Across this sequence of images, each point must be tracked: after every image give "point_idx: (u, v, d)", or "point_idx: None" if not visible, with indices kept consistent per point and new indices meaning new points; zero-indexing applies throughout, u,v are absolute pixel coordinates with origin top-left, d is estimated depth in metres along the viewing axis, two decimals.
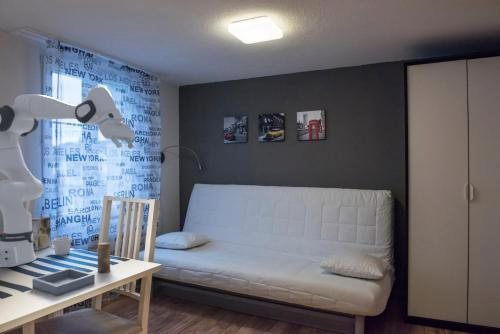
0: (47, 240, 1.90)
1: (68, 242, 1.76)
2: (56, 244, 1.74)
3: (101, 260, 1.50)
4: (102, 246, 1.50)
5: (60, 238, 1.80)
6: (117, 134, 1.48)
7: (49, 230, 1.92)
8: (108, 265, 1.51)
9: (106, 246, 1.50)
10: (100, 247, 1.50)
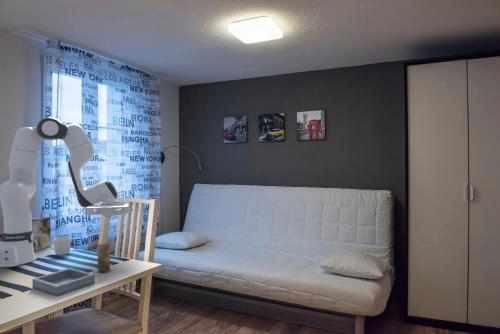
0: (47, 240, 1.90)
1: (68, 242, 1.76)
2: (56, 244, 1.74)
3: (101, 260, 1.50)
4: (102, 246, 1.50)
5: (60, 238, 1.80)
6: (118, 213, 1.70)
7: (49, 230, 1.92)
8: (108, 265, 1.51)
9: (106, 246, 1.50)
10: (100, 247, 1.50)
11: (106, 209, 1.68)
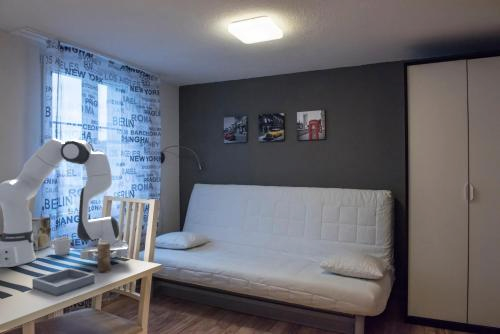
0: (47, 240, 1.90)
1: (68, 242, 1.76)
2: (56, 244, 1.74)
3: (101, 260, 1.50)
4: (102, 246, 1.50)
5: (60, 238, 1.80)
6: (116, 256, 1.58)
7: (49, 230, 1.92)
8: (108, 265, 1.51)
9: (106, 246, 1.50)
10: (100, 247, 1.50)
11: None
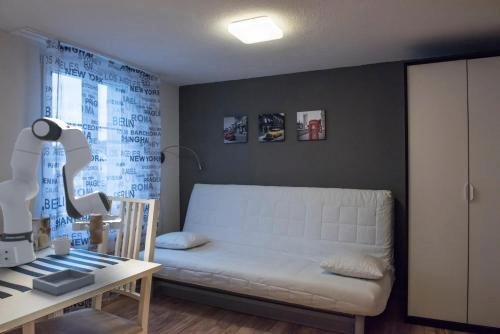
0: (47, 240, 1.90)
1: (68, 242, 1.76)
2: (56, 244, 1.74)
3: (93, 232, 1.46)
4: (94, 217, 1.46)
5: (60, 238, 1.80)
6: (109, 229, 1.54)
7: (49, 230, 1.92)
8: (100, 237, 1.48)
9: (98, 217, 1.46)
10: (92, 218, 1.46)
11: None
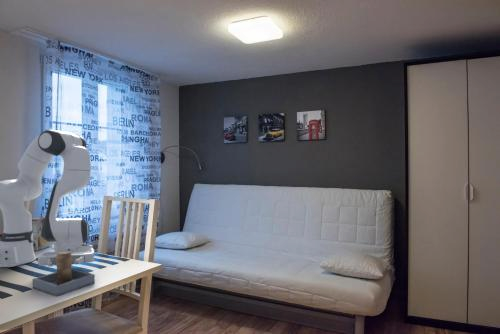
0: None
1: None
2: (56, 244, 1.74)
3: (60, 272, 1.32)
4: (61, 256, 1.32)
5: None
6: None
7: None
8: (69, 277, 1.34)
9: (66, 256, 1.33)
10: (59, 257, 1.32)
11: None
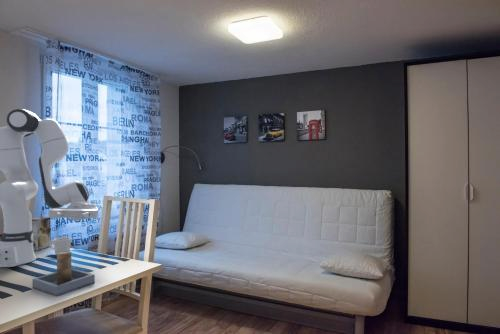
0: (47, 240, 1.90)
1: (68, 242, 1.76)
2: (56, 244, 1.74)
3: (60, 272, 1.32)
4: (61, 256, 1.32)
5: (60, 238, 1.80)
6: (85, 217, 1.58)
7: (49, 230, 1.92)
8: (69, 277, 1.34)
9: (66, 256, 1.33)
10: (59, 257, 1.32)
11: (72, 212, 1.56)
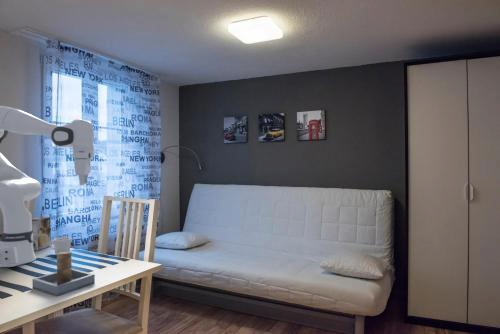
0: (47, 240, 1.90)
1: (68, 242, 1.76)
2: (56, 244, 1.74)
3: (60, 272, 1.32)
4: (61, 256, 1.32)
5: (60, 238, 1.80)
6: (86, 173, 1.57)
7: (49, 230, 1.92)
8: (69, 277, 1.34)
9: (66, 256, 1.33)
10: (59, 257, 1.32)
11: None
